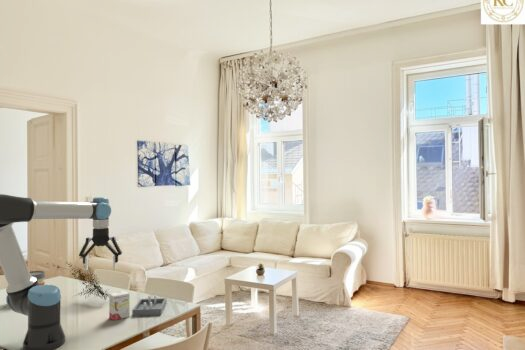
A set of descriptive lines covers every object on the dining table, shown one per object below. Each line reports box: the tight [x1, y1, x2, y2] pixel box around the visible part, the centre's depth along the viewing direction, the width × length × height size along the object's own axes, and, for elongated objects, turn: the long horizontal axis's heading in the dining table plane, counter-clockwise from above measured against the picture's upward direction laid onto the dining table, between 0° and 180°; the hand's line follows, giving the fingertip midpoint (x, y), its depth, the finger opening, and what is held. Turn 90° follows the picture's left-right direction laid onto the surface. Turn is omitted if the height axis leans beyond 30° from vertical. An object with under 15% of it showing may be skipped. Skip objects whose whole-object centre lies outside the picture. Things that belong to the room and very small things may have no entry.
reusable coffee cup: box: [29, 270, 46, 285], centre depth 221 cm, size 13×13×15 cm
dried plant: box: [41, 248, 111, 301], centre depth 220 cm, size 30×31×45 cm
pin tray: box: [132, 294, 168, 317], centre depth 202 cm, size 18×14×6 cm
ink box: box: [108, 290, 130, 321], centre depth 191 cm, size 9×5×12 cm, turn 129°
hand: (100, 269), depth 196 cm, fingers open, 13 cm apart
